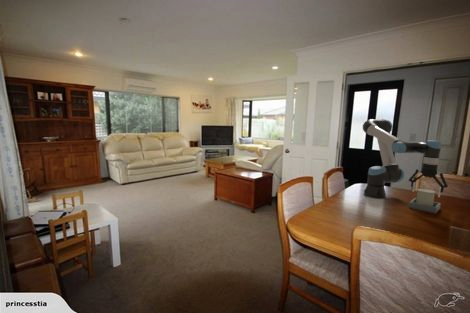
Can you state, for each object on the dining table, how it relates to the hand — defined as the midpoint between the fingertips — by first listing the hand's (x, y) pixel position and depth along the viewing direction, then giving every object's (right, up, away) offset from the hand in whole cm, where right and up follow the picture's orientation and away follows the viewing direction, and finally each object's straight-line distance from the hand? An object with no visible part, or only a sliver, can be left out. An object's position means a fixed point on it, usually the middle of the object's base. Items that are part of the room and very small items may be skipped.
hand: (425, 194), depth 152 cm
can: (0, -9, +1) cm, 9 cm away
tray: (0, -10, +1) cm, 10 cm away
